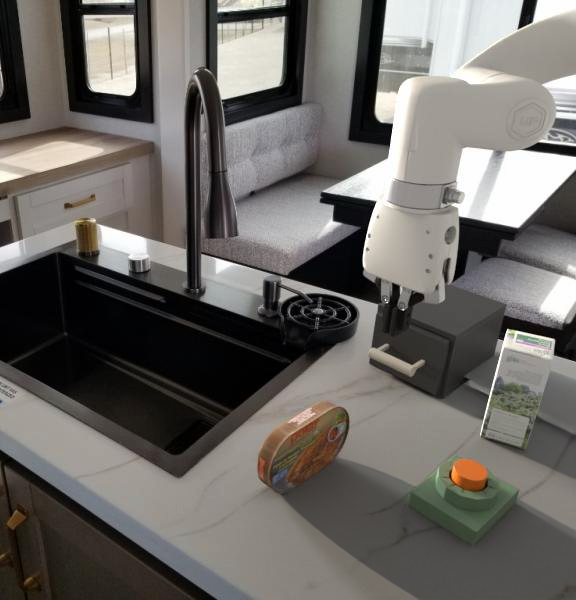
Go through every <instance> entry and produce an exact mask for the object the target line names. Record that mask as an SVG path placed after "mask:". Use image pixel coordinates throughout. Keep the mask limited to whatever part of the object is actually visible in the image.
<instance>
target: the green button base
mask: <svg viewBox="0 0 576 600" xmlns="http://www.w3.org/2000/svg"><path fill="white" fill-rule="evenodd" d="M461 459H464V458H463V457H461V456H459V455H457V454H455V455H453V456H452V457H451V458H450V459H448V460H446V461H444V462H442V464H440V465H439V466H438V467H437V469H436V470H435V471H434V472H433V473H431V475H429V476H427V478H425V479H424V480H422V482H420V483H419V484H418V485H417V486H416V487H415V488H413V489H412V490H411V491H410V494H409V499H408V504H407V505H408V507H410V508H412V509H413V510H415V511H416V512H418V513H419V514H421V515H422V516H425V517H426V518H427V519H429V520H431V521H432V522H434V523H435V524H437V525H439V526H440V527H441V528H443V529H445V530H446V531H448V532H449V533H451V534H453V535H454V536H456V537H457V538H459V539H461V540H462V541H463V542H465V543H466V544H468V545H470V546H472V547H474V546H475V544H477V543H478V542H479V541H480V540H481V538H482V537H483V536H484V535H485V534H487V533H488V531H490V530H491V528H492V527H494V525H496V523H498V522H499V520H500V519H501V518H502V517H503V516H505V515H506V513H507V512H508V511H509V510H510V509H512V507H513V506H514V505H515V504H516V503H517V499H518V496H519V493H520V488H518V487H516V486H514V485H512V484H511V483H508V482H507V481H505V480H503V479H501V478H499V477H497V476H496V475H494V474H493V473H492V471H491V470H490V469H488V468H486V467H485V469H486V470H487V473H488V476H487V479H486V483H485V487H484V489H483V490H481V491H478V492H472V491H467V490H463V489H462V488H460V487H458V486H456V485H455V484H454V483H453V482H452V480H451V474H452V470H453V466H454V463H455V462H456V461H458V460H461Z"/></svg>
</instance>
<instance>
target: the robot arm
mask: <svg viewBox="0 0 576 600" xmlns="http://www.w3.org/2000/svg"><path fill="white" fill-rule="evenodd" d="M571 76H576V3H573V4H571V5H569V6H567V7H565V8H562V9H561V10H558V11H557V12H554V13H551V14H549V15H548V16H546V17H543V18H541V19H538V20H536V21H534V22H531V23H529V24H527V25H525V26H522V27H521V28H519V29H517V30H515V31H513V32H511V33H508V35H506V36H504V37H502V38H501V39H499V40H497V41H496V42H494V43H493V44H491V45H490V46H488V47H487V48H486V49H484V50H482V51H481V52H480V53H478V54H476V56H474V57H472V58H471V59H470V60H468V61H467V62H465V63H464V64H463V65H462V66H460V67H459V68H457V70H456V71H454V72H453V73H452V74H451V76H445V75H420V76H419V75H418V76H413V77H410V78H407V79H406V80H404V81H403V82H402V84H401V85H400V86H399V90H398V91H397V97H396V101H395V102H396V103H395V111H394V116H393V117H394V118H393V125H392V132H391V138H390V147H389V152H388V160H387V164H386V165H387V166H386V173H385V179H384V186H383V192H382V195H379V196H378V199H377V200H376V203H375V206H374V208H373V211H372V214H371V217H370V221H369V224H368V228H367V233H366V237H365V241H364V247H363V254H362V267H363V271H362V274H363V277H365V278H366V279H367V280H369V281H370V282H372V283H374V284H375V286H376V288H377V289H378V291H379V292H380V300H381V301H382V302H383V303H385V305H384V311H383V318H382V322H383V327H382V332H383V333H386V334H387V333H389V335H390V336H392V337H395V336H397V335H399V334H400V333H402V332H404V331H406V330H407V329H408V328H409V326H410V322H411V316H412V311H413V305H415V304H417V303H419V302H424V303H430V304H439V303H441V302H442V301H444V300H445V286H446V285H449V284H450V285H452V282H453V280H454V276H455V271H456V265H457V258H458V251H459V240H460V213H459V208H458V206H455V205H453V204H458V205H461V204H462V203H463V202H464V200H465V197H466V194H465V192H464V191H460V190H459V189H458V188H457V187H458V183H459V182H458V181H457V180H458V173H459V169H460V163H461V158H462V154H463V149H466V148H471V149H478V150H479V149H480V150H488V151H496V152H516V151H520V150H524V149H527V148H530V147H532V146H534V145H536V144H537V143H539V142H540V141H542V139H544V138H545V137H546V136H547V135H548V134H549V132H550V131H551V129H552V128H553V126H554V124H555V121H556V117H557V104H556V100H555V98H554V97H553V94H552V93H551V91H550V90H549V89H547V88H546V86H544V85H545V84H548V83H550V82H553V81H557V80H560V79H563V78H567V77H571ZM382 302H381V303H382Z"/></svg>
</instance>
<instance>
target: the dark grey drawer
mask: <svg viewBox="0 0 576 600" xmlns="http://www.w3.org/2000/svg"><path fill="white" fill-rule="evenodd" d="M382 318H383V312H379V313H377V312H376V313H375V319H374V326H373V331H372V332H373V333H372V340H371V346H370V349H369V351H368V354H367V356H368V358H369V360H368V363H369V365H371V364H373V365H375V366H377V367H376V368H378V367H379V368H378V369H380V368H381V369H380V370H382V369H383V370H382V371H384V370H385V371H384V372H386V371H387V372H386V373H388V372H389V373H388V374H390V373H391V374H390V375H392V374H393V375H392V376H394V375H395V376H394V377H396V376H397V378H398V377H399V378H398V379H400V378H401V379H400V380H402V379H403V381H404V380H406V381H408V382H410V383H409V384H411V383H412V384H411V385H413V384H414V385H413V386H415V385H416V386H415V387H417V386H418V387H417V388H419V387H420V388H419V389H421V388H422V389H421V390H423V389H424V390H423V391H425V390H426V391H425V392H427V391H428V392H427V393H429V392H430V393H429V394H431V393H432V394H431V395H433V394H434V395H433V396H435V395H436V394H438V393H439V392H440V389H441V384H442V379H443V375H444V370H445V365H446V361H447V356H448V351H449V346H450V342H451V340H449V339H448V338H446V337H443V336H441V335H439V334H436V333H434V332H431V331H429V330H426V329H424V328H421V327H419V326H417V325H414V324H412V323H410V326H409V328H408V329H407V330H406V331H404V332H402V333H400V334H399V335H397V336H395V337H392V336H390V335H389V333H387V334H386V333H383V332H382V327H383V322H382ZM373 365H372V366H373ZM375 366H374V367H375ZM406 381H405V382H406ZM408 382H407V383H408Z"/></svg>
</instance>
